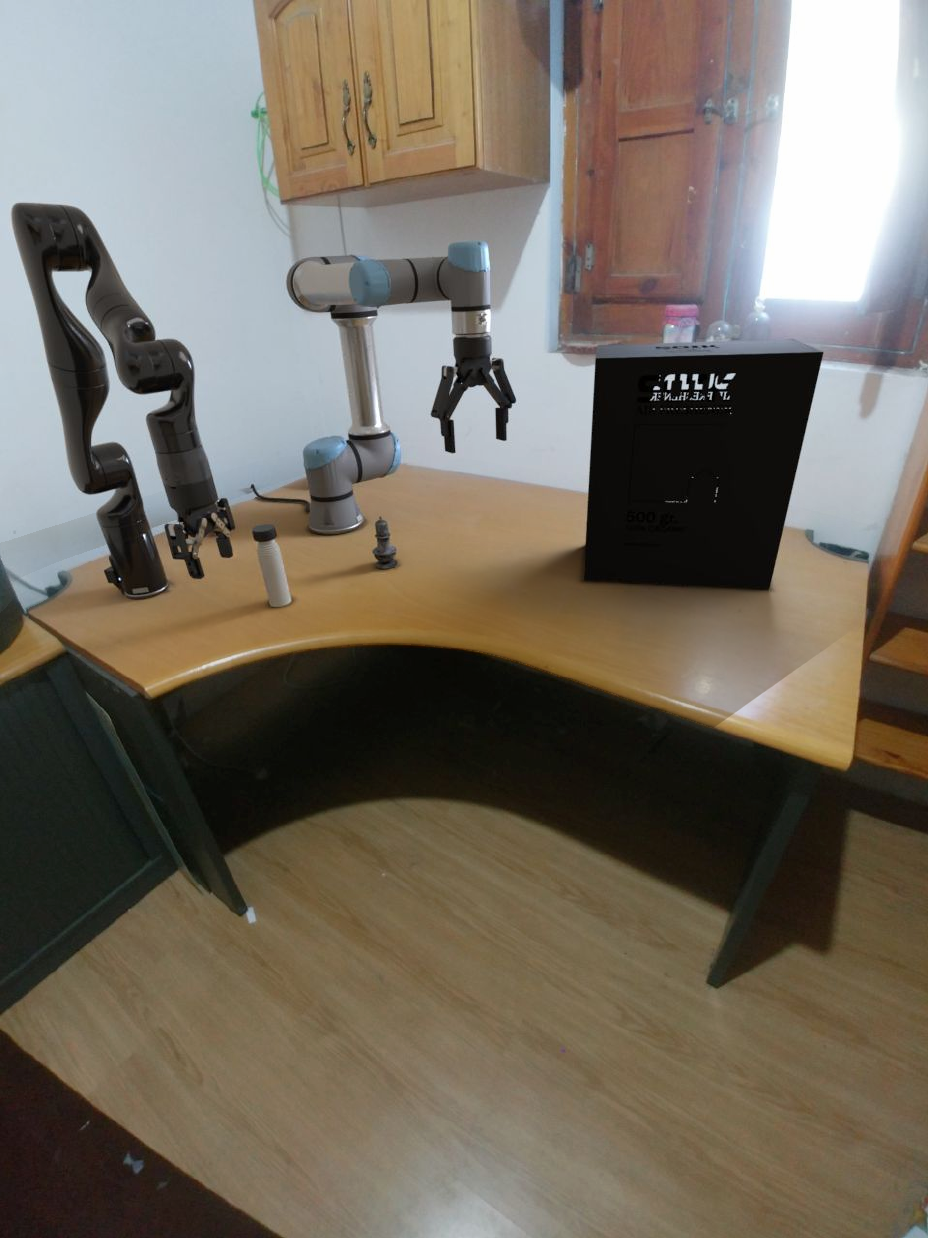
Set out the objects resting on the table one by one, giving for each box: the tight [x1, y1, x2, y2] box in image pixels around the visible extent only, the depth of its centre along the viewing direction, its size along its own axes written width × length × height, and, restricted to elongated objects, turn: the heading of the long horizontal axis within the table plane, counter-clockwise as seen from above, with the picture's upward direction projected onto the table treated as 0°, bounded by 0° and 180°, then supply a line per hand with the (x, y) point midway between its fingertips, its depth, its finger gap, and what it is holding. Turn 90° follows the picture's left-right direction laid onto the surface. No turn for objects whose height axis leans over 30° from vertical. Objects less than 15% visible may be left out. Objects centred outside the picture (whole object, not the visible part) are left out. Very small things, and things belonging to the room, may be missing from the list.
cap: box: [251, 523, 278, 543], centre depth 123 cm, size 4×5×2 cm
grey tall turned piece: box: [371, 516, 398, 570], centre depth 142 cm, size 6×6×12 cm
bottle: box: [256, 539, 292, 608], centre depth 126 cm, size 5×5×17 cm
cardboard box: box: [583, 338, 824, 590], centre depth 125 cm, size 38×20×45 cm, turn 78°
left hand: (213, 567), depth 105 cm, fingers open, 8 cm apart
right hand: (476, 445), depth 127 cm, fingers open, 13 cm apart
